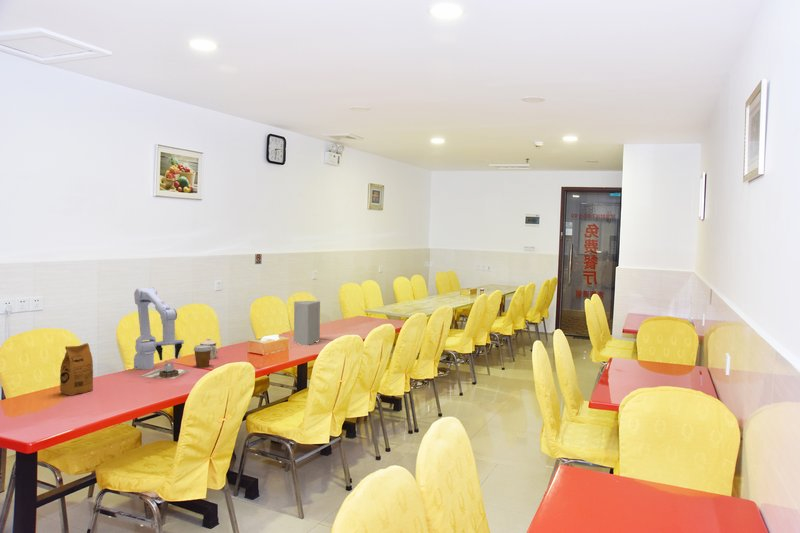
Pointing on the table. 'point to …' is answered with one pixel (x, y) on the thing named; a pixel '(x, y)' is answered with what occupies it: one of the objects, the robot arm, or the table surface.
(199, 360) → the disposable coffee cup
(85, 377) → the coffee package
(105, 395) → the table surface
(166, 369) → the piston
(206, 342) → the teacup with lid
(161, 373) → the ring collar
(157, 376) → the plate
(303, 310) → the grey block
